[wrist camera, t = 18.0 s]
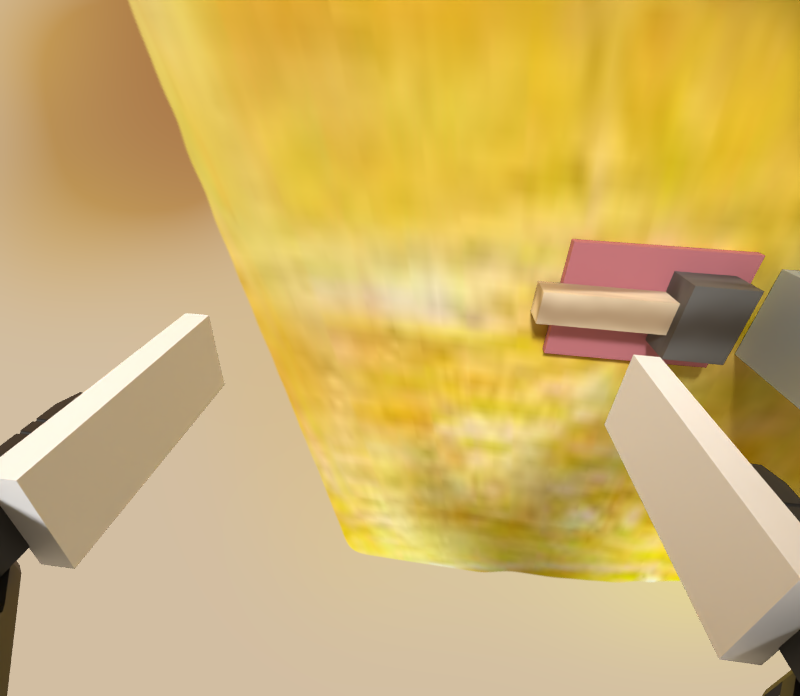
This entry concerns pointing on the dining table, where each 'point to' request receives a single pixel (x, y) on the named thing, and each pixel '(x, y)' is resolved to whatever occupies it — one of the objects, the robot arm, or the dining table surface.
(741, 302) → the stamp
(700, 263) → the mat
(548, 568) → the dining table surface
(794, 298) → the pedestal
